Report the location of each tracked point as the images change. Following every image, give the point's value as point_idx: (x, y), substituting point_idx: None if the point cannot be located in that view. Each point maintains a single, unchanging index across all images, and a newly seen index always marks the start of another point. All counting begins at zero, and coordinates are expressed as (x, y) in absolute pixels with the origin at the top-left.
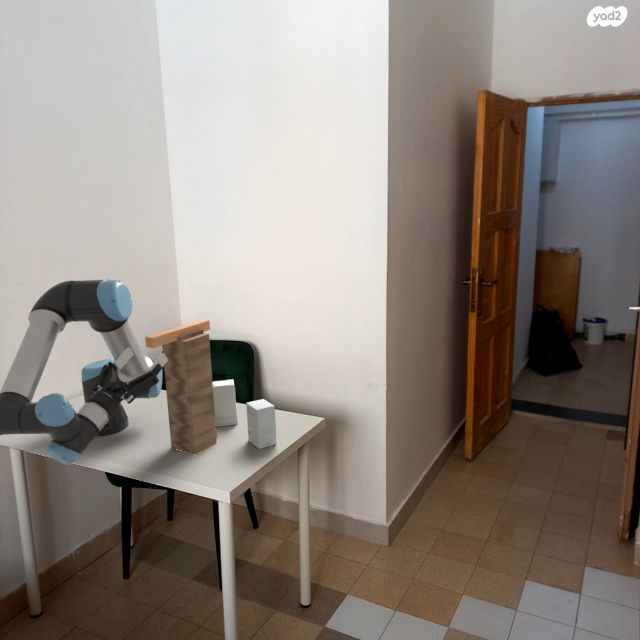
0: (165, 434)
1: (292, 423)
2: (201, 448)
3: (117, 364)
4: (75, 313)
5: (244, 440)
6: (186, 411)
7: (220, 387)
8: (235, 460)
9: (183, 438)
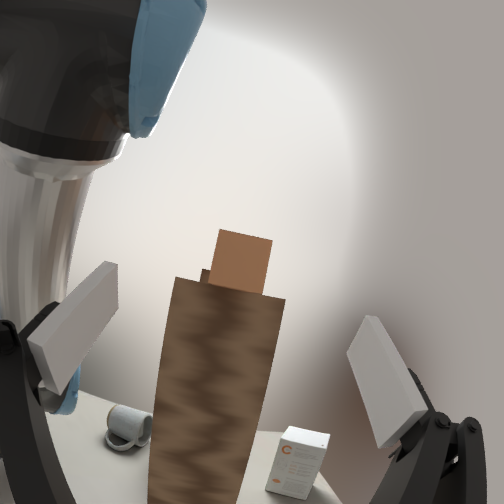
0: (96, 485)
1: (273, 446)
2: None
3: (52, 355)
4: None
5: (258, 491)
6: (219, 487)
7: None
8: None
9: None
